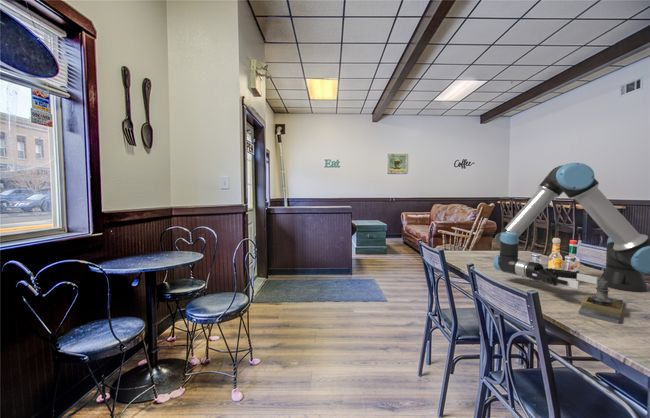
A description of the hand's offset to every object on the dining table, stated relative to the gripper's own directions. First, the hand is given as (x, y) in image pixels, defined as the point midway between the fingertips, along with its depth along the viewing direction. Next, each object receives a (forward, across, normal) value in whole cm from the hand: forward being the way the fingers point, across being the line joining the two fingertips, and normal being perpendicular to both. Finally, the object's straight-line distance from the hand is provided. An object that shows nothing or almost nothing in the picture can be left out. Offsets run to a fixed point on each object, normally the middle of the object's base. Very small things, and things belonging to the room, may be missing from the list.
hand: (588, 283), depth 111 cm
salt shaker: (+4, 0, -9) cm, 10 cm away
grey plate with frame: (+4, 0, -9) cm, 10 cm away
